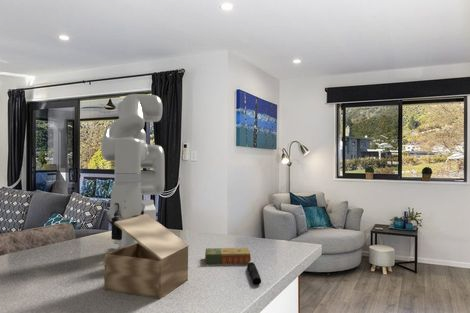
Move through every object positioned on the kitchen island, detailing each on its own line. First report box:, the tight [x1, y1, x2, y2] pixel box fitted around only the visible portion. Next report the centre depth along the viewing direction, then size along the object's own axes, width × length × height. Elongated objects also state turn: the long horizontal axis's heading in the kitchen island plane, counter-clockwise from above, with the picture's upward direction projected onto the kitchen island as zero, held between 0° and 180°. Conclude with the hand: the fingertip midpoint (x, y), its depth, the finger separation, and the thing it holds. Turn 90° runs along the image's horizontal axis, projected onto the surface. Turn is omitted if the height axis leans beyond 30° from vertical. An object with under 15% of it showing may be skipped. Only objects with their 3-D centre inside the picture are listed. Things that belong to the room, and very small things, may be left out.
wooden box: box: [103, 242, 189, 300], centre depth 109 cm, size 18×16×10 cm
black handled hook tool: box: [246, 260, 262, 286], centre depth 119 cm, size 22×4×3 cm, turn 4°
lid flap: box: [114, 214, 190, 260], centre depth 108 cm, size 17×16×1 cm
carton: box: [204, 247, 252, 265], centre depth 134 cm, size 8×16×4 cm, turn 94°
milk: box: [135, 199, 157, 243], centre depth 132 cm, size 6×6×22 cm
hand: (127, 236), depth 111 cm, fingers open, 9 cm apart
